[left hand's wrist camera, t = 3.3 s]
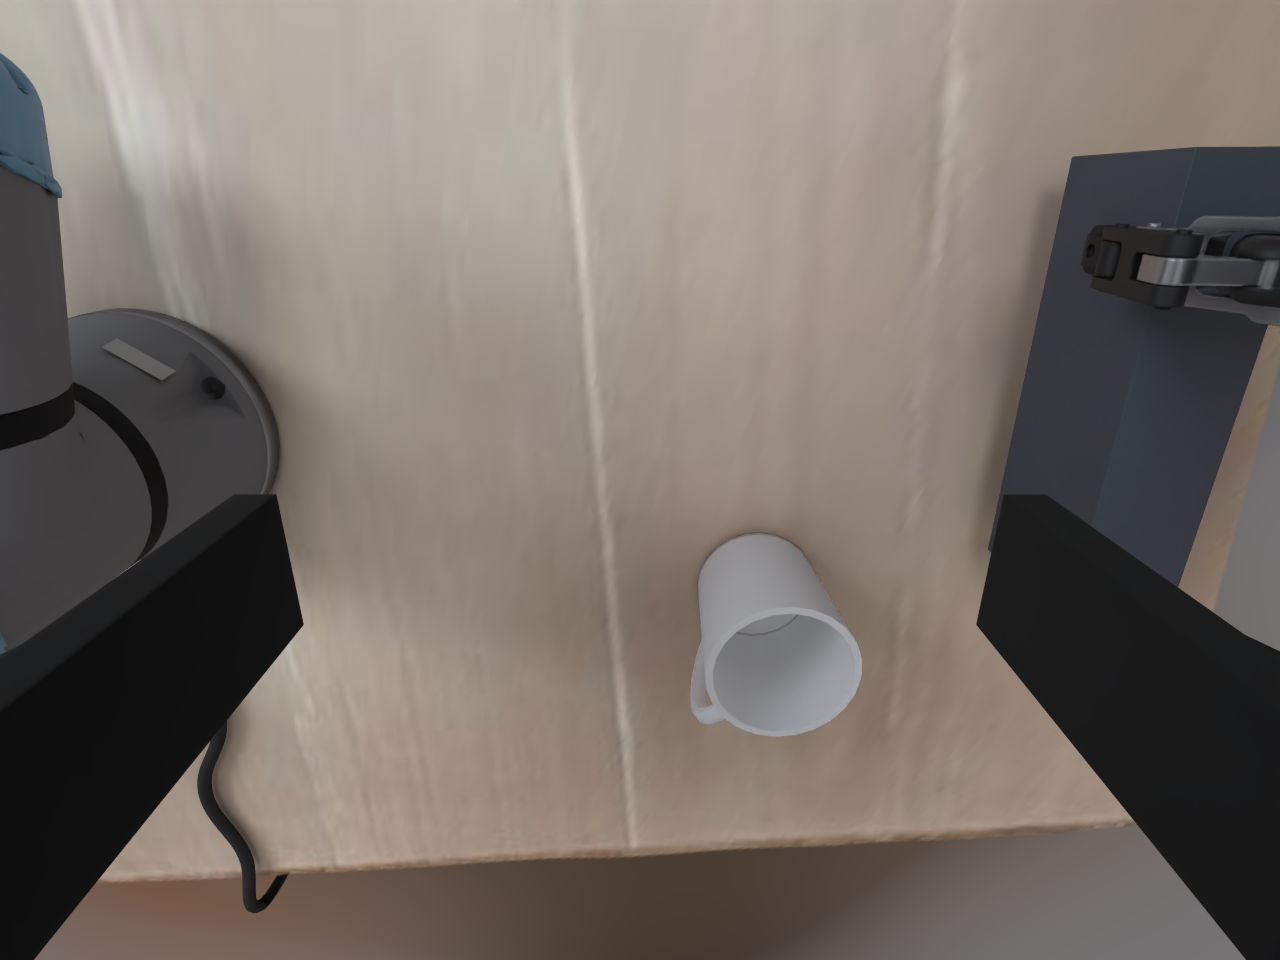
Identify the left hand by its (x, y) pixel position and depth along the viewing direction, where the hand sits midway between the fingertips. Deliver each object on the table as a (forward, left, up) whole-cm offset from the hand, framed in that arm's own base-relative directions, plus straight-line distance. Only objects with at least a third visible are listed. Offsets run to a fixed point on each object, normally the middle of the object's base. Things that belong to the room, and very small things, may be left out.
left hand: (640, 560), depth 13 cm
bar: (+3, -25, -28) cm, 38 cm away
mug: (-17, -12, -31) cm, 38 cm away
